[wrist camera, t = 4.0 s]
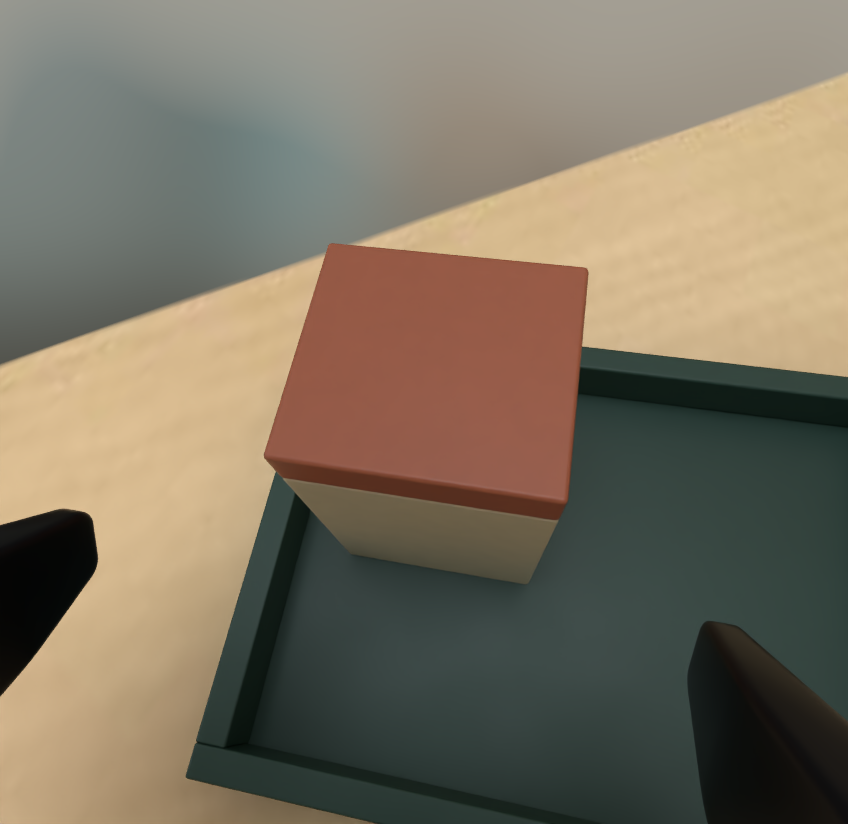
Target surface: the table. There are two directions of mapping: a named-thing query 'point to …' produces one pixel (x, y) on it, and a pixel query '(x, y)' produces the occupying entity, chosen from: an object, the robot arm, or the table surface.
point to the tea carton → (435, 407)
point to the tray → (550, 618)
